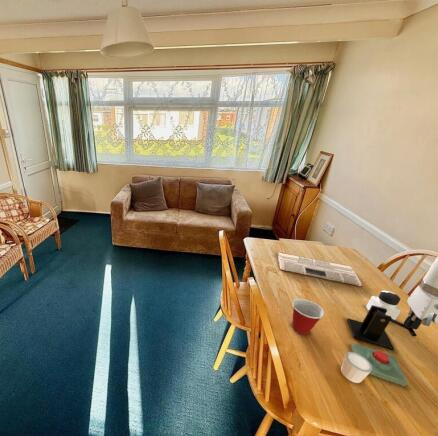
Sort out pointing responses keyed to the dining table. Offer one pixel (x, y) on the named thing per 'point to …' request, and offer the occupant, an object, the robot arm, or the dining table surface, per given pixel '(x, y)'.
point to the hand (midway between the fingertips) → (409, 326)
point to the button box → (382, 365)
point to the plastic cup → (305, 315)
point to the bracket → (372, 328)
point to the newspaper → (318, 269)
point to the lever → (398, 323)
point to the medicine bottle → (386, 303)
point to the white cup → (355, 367)
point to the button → (381, 357)
